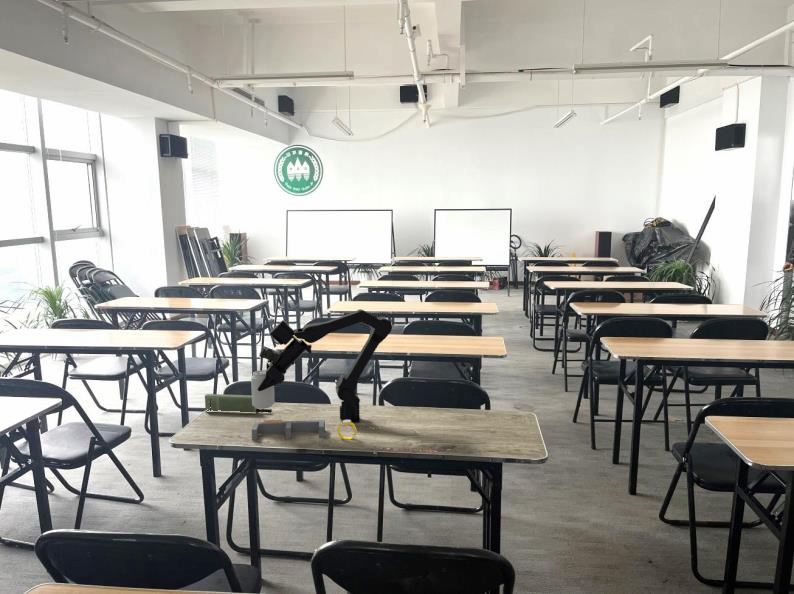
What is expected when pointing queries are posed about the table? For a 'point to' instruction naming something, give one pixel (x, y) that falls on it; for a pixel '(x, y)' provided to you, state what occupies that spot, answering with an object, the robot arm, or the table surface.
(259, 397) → the can
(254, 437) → the comb rack
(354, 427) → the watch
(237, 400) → the handheld radio
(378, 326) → the robot arm
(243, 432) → the table surface
